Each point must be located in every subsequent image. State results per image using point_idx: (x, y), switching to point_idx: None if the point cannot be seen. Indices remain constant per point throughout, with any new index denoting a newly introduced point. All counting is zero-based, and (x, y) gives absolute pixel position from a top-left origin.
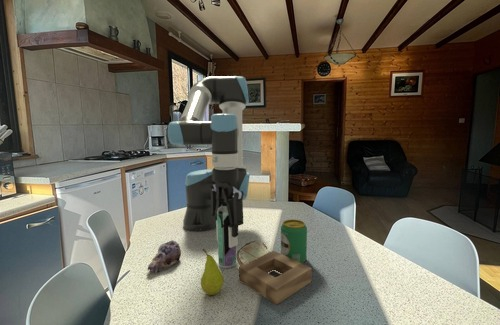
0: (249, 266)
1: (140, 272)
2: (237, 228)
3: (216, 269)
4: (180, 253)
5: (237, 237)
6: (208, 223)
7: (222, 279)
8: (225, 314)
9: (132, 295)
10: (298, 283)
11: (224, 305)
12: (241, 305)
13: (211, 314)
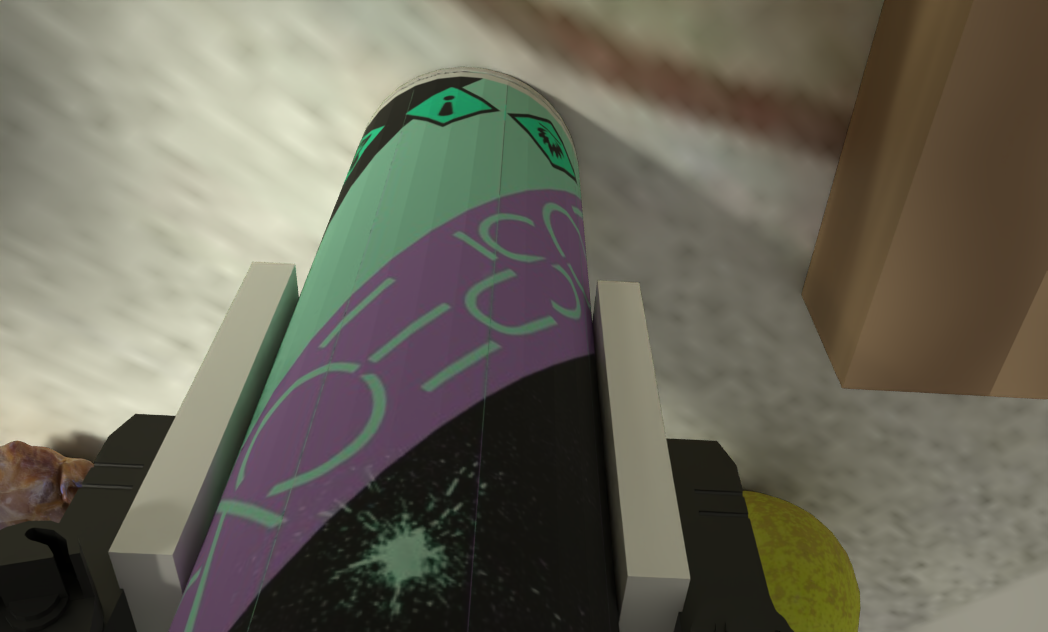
0: (955, 311)
1: None
2: (756, 580)
3: None
4: (39, 479)
5: (653, 366)
6: None
7: (853, 586)
8: (965, 567)
9: None
10: None
11: (905, 530)
12: (1020, 470)
13: (883, 607)
